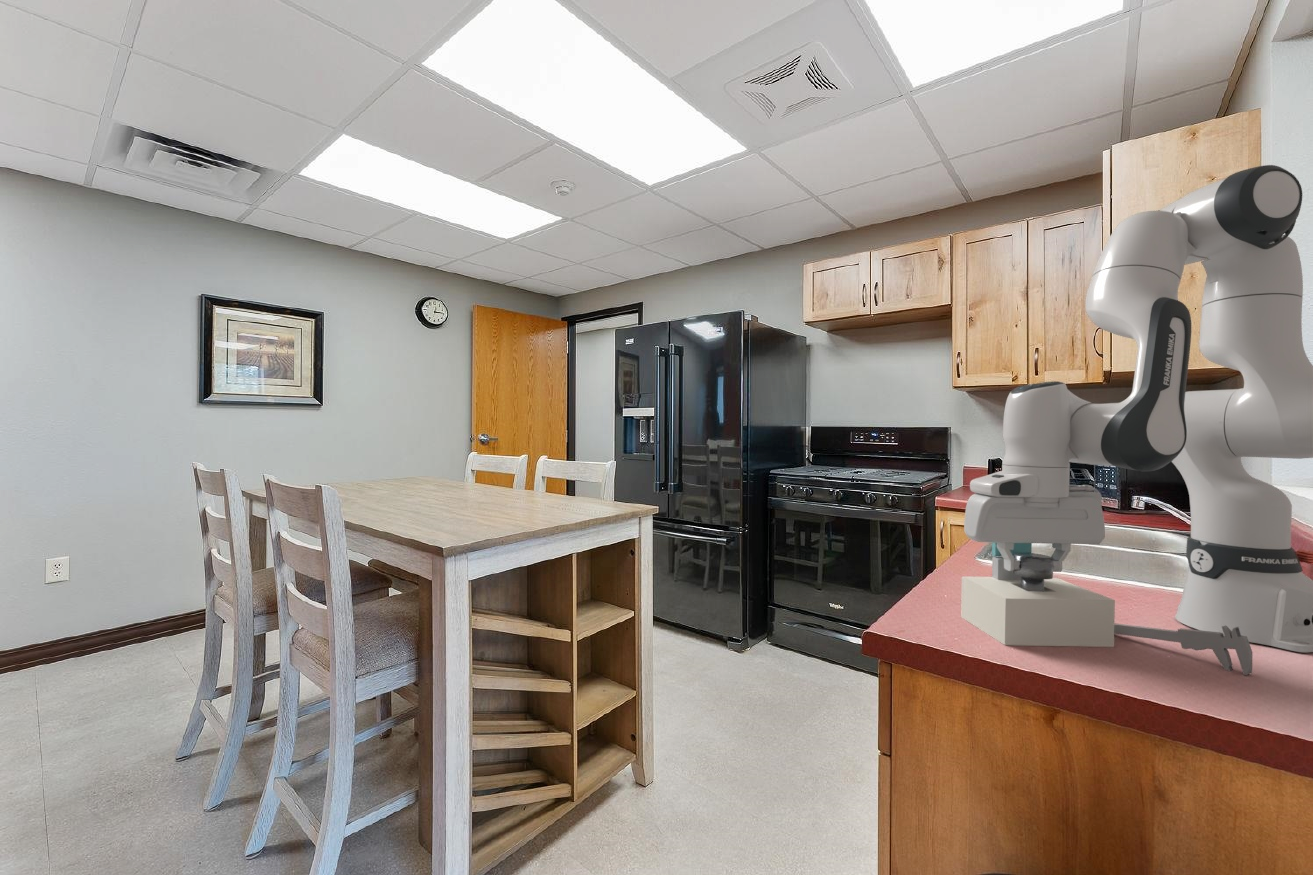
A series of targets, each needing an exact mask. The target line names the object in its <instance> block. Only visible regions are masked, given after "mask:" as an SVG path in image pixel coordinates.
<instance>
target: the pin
mask: <svg viewBox="0 0 1313 875" xmlns="http://www.w3.org/2000/svg"><path fill="white" fill-rule="evenodd" d="M1013 557H1014V559H1017V560H1020V565H1019V567H1020V570H1019V571H1013V573H1014V574H1016V575H1019V576H1021V588H1022V589H1024V590H1026V591H1040V592H1044V579H1052V578H1054V572H1053V558H1052V557H1051V556H1050V555H1047V554H1046V555H1045V554H1040V553H1034V552H1031V553H1024V552H1019V553H1014V556H1013Z"/></svg>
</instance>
